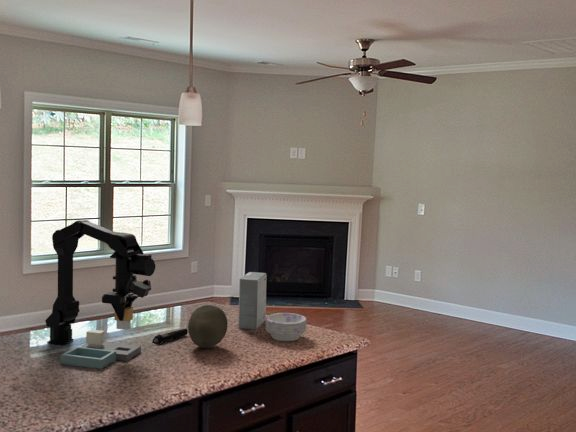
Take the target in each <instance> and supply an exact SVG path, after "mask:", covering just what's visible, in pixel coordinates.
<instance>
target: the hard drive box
mask: <svg viewBox="0 0 576 432" xmlns="http://www.w3.org/2000/svg"><path fill="white" fill-rule="evenodd" d="M238 288H239V292H238V294H239V295H238V322H237V323H238V324H237V325H238V326H237V327H238V329H243V330H244V329H245V330H255V331H256V330H257V329H259V328H260V326H261V325H262V324H263V323H265V322H266V317H267V273H266V272H257V271H256V272H255V271H249V272H247V273H246V274H245V275H243V276H242V277H240V279H239V287H238Z"/></svg>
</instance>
